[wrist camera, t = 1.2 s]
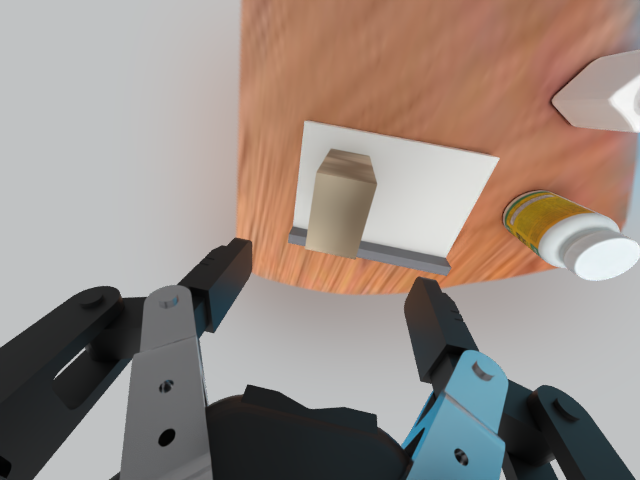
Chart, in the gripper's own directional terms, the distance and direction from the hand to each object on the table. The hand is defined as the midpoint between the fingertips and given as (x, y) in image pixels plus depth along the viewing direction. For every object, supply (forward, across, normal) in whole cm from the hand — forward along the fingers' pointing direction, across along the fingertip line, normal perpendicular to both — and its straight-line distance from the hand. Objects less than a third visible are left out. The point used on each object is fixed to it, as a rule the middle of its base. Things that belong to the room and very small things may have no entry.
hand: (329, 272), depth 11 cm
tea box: (+16, 0, 0) cm, 16 cm away
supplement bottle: (+18, -21, 0) cm, 28 cm away
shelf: (+18, -4, +1) cm, 19 cm away
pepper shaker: (+18, -19, -11) cm, 28 cm away
